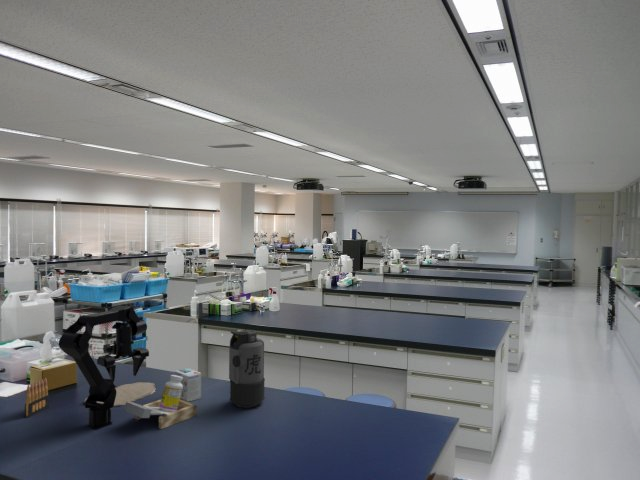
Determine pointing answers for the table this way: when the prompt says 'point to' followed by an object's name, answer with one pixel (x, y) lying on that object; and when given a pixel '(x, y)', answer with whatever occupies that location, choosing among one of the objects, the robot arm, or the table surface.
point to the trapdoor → (143, 410)
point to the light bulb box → (190, 384)
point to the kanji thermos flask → (246, 369)
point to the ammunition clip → (36, 398)
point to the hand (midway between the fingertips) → (123, 378)
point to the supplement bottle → (171, 394)
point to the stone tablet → (132, 392)
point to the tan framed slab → (174, 413)
